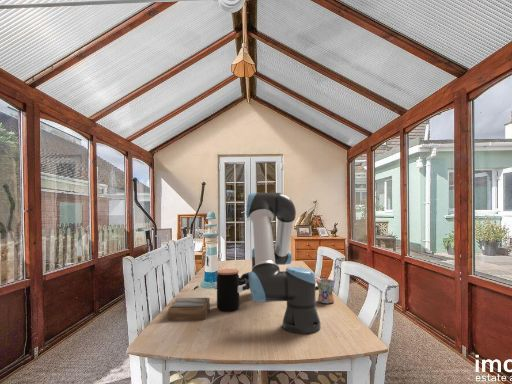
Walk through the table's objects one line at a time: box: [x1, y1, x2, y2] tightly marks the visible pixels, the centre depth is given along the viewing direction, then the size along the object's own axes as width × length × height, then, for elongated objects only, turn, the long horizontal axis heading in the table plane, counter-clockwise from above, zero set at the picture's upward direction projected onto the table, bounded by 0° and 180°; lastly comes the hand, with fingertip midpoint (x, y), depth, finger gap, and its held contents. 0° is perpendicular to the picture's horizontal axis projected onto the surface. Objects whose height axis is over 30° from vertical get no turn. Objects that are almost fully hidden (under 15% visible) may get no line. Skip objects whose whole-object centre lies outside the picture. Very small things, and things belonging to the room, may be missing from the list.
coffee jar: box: [216, 268, 240, 313], centre depth 158 cm, size 11×11×18 cm
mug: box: [316, 278, 336, 304], centre depth 168 cm, size 12×9×11 cm
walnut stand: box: [167, 297, 211, 321], centre depth 150 cm, size 16×16×5 cm
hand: (226, 288), depth 157 cm, fingers open, 13 cm apart
